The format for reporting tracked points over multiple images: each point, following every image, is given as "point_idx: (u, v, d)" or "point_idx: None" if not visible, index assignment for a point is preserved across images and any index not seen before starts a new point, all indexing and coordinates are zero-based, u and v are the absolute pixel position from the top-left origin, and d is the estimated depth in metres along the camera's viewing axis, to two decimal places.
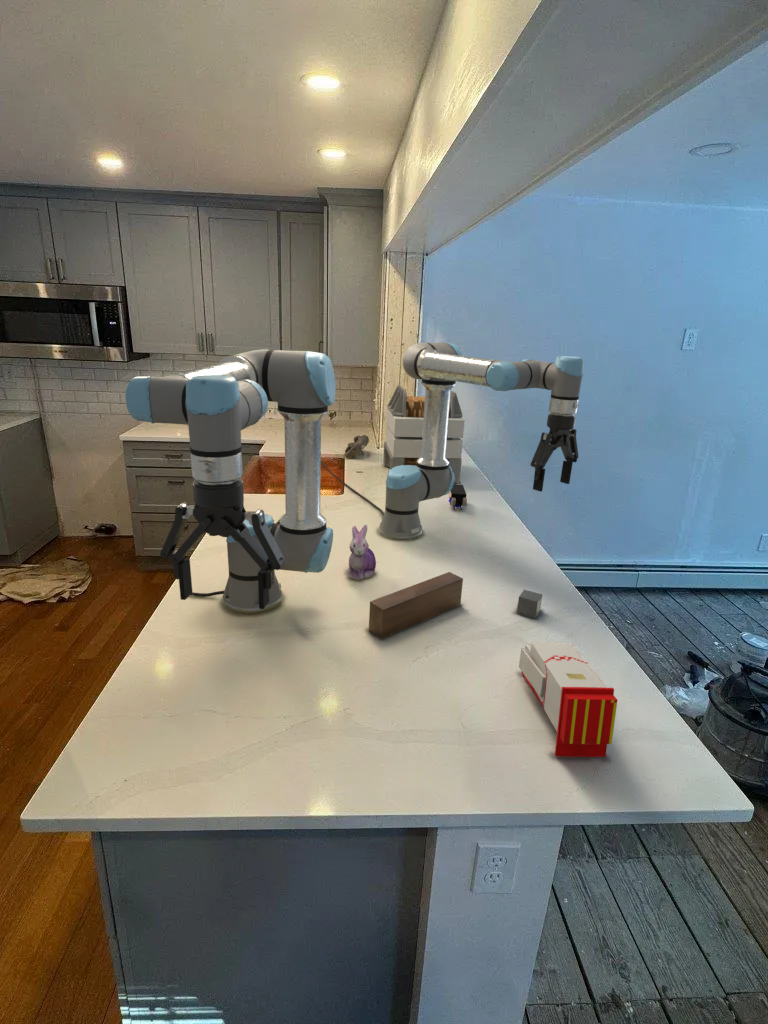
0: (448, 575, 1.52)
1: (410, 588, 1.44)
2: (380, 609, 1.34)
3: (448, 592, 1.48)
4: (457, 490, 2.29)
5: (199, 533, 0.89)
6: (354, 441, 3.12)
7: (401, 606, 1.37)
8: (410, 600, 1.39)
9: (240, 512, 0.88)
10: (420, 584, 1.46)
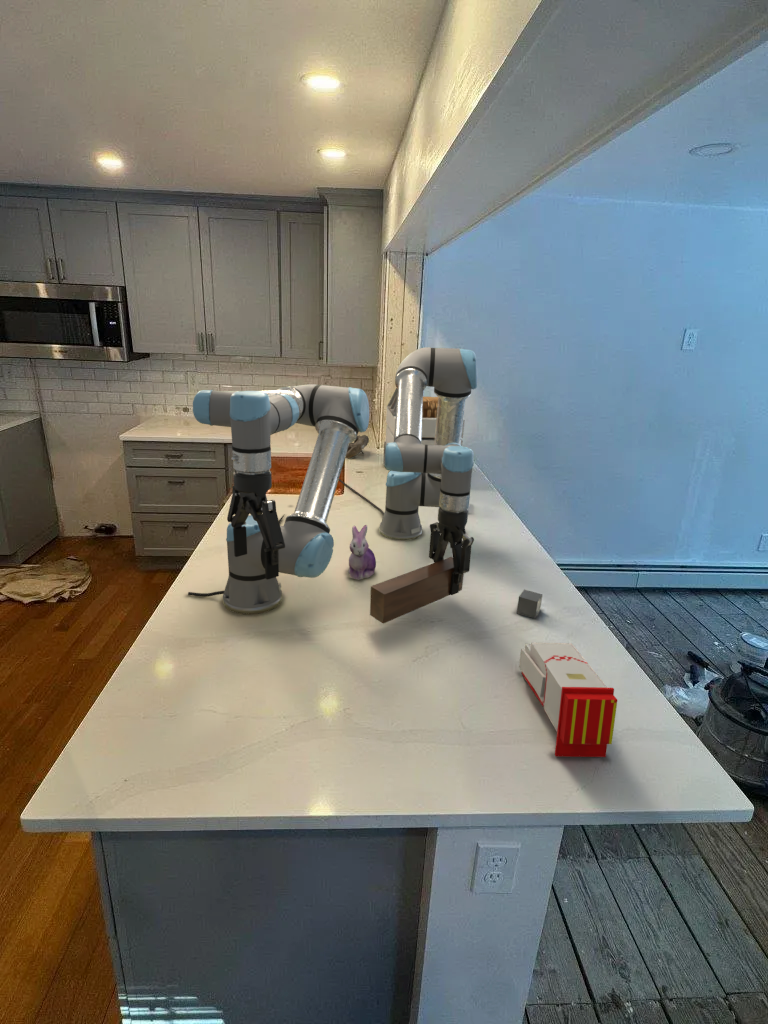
0: (450, 560, 1.51)
1: (411, 573, 1.43)
2: (381, 593, 1.33)
3: (449, 576, 1.47)
4: None
5: (239, 508, 1.18)
6: (354, 441, 3.12)
7: (402, 590, 1.36)
8: (411, 585, 1.38)
9: (258, 498, 1.13)
10: (421, 569, 1.45)
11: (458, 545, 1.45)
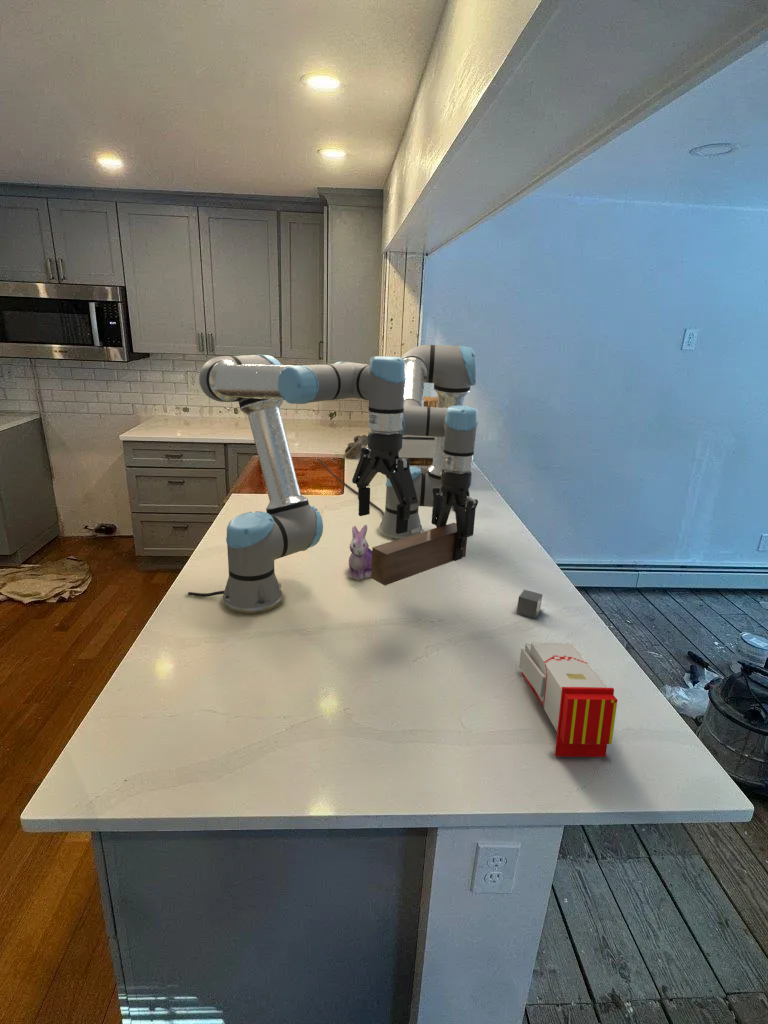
0: (453, 525, 1.47)
1: (414, 536, 1.39)
2: (383, 554, 1.29)
3: (453, 541, 1.43)
4: None
5: (370, 468, 1.26)
6: (354, 441, 3.12)
7: (405, 552, 1.33)
8: (414, 546, 1.34)
9: (392, 457, 1.20)
10: (424, 533, 1.42)
11: (462, 508, 1.42)
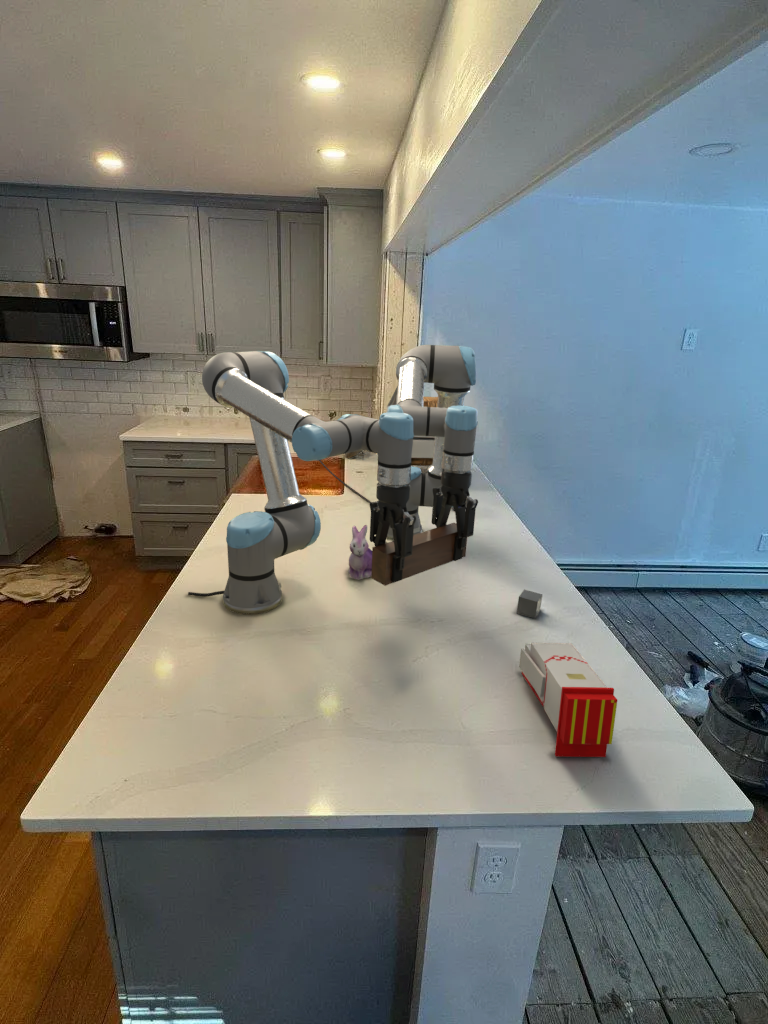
0: (453, 525, 1.47)
1: (414, 536, 1.39)
2: (383, 554, 1.29)
3: (453, 541, 1.43)
4: None
5: (381, 520, 1.30)
6: None
7: None
8: (414, 546, 1.34)
9: (400, 508, 1.26)
10: (424, 533, 1.42)
11: (462, 508, 1.42)
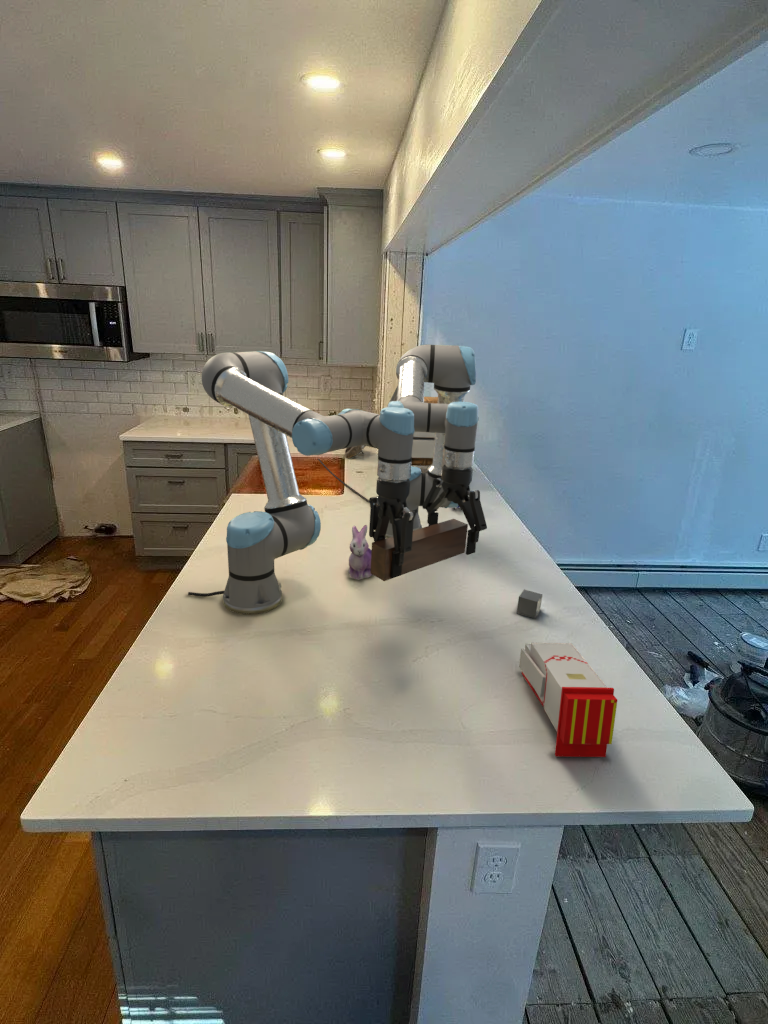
0: (452, 521, 1.47)
1: (413, 532, 1.39)
2: (383, 549, 1.29)
3: (452, 537, 1.43)
4: None
5: (380, 515, 1.30)
6: None
7: None
8: (414, 542, 1.34)
9: (400, 504, 1.25)
10: (424, 528, 1.41)
11: (466, 502, 1.41)
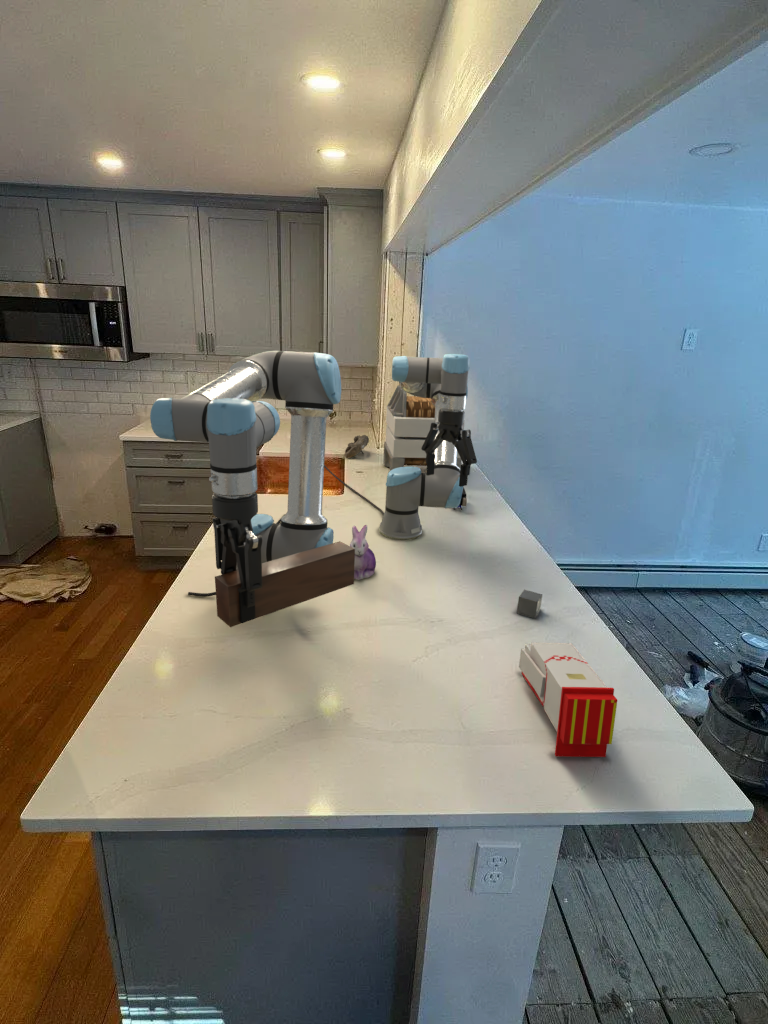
0: (336, 545, 1.16)
1: (278, 560, 1.08)
2: (225, 586, 0.98)
3: (333, 566, 1.12)
4: None
5: (223, 541, 0.99)
6: (354, 441, 3.12)
7: None
8: (272, 575, 1.03)
9: (241, 527, 0.94)
10: (294, 555, 1.10)
11: (459, 441, 1.64)
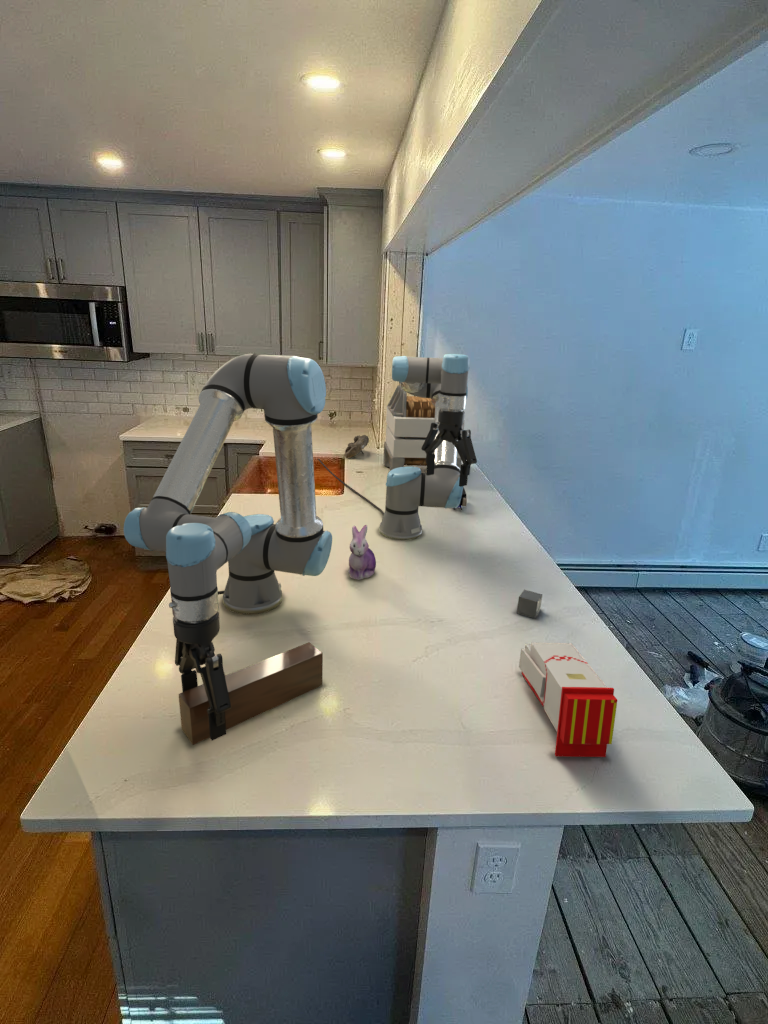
0: (305, 648, 1.17)
1: (244, 670, 1.09)
2: (187, 707, 0.99)
3: (300, 672, 1.13)
4: None
5: (184, 654, 1.00)
6: (354, 441, 3.12)
7: None
8: (236, 690, 1.04)
9: (202, 649, 0.95)
10: (261, 663, 1.11)
11: (459, 441, 1.64)
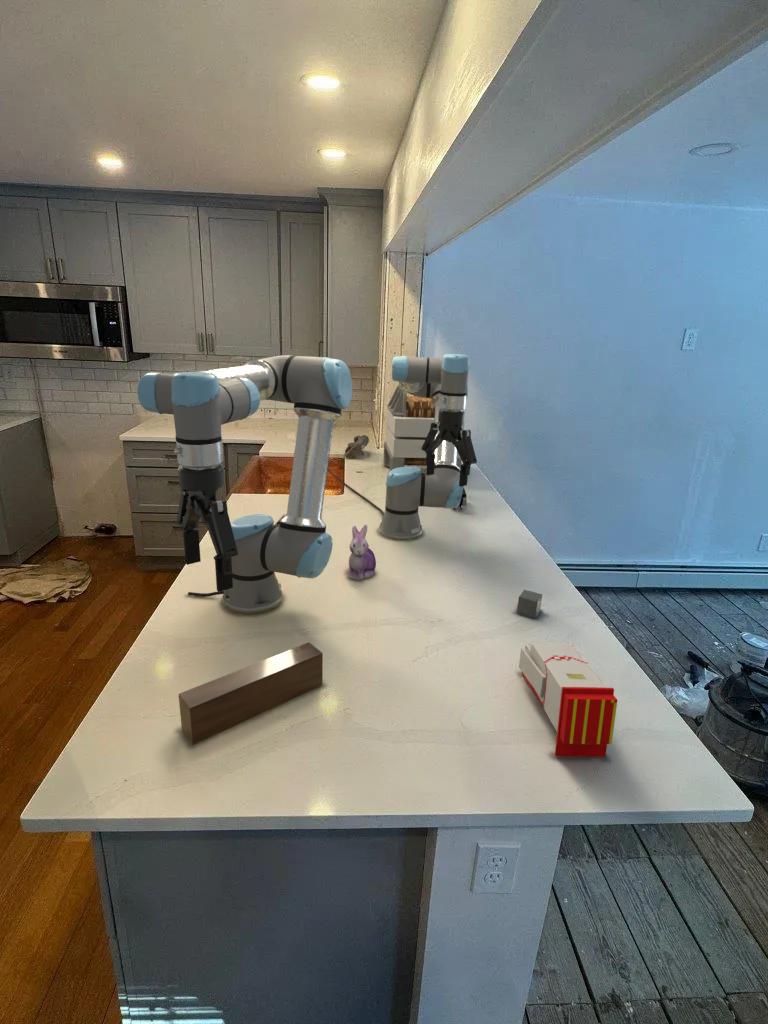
0: (305, 648, 1.17)
1: (244, 670, 1.09)
2: (187, 707, 0.99)
3: (300, 672, 1.13)
4: None
5: (188, 509, 1.02)
6: (354, 441, 3.12)
7: (221, 699, 1.02)
8: (236, 690, 1.04)
9: (206, 498, 0.96)
10: (261, 663, 1.11)
11: (459, 441, 1.64)
